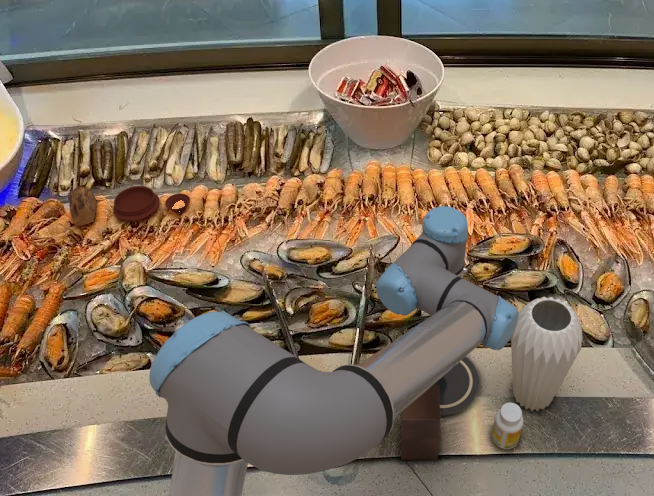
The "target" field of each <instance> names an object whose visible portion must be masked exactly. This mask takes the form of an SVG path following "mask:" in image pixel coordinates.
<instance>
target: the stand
mask: <svg viewBox="0 0 654 496" xmlns="http://www.w3.org/2000/svg"><path fill="white" fill-rule="evenodd" d="M441 417H442V416H440V395H439V385H432V386H431V387H430V388H429V389H428V390H426V391H425V392H424V393H423V394H422V395H421V396H419V397H418V398H417V399H416V400H415V401H414V402H412V403H411V404H410V405H409V406H408V407H407V408H406V409H404V410H403V411H402V412H401V413H400V460H401V461H433V460H434V461H437V460H438V459H439V448H440V433H441V421H442V420H441Z"/></svg>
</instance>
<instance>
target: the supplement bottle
mask: <svg viewBox="0 0 654 496" xmlns="http://www.w3.org/2000/svg"><path fill="white" fill-rule="evenodd" d="M523 426H524V416H523V412H522V408H521V406H520V405H518V404H517V403H514V402H506V403H503V405H501V407H500V409H499V410H497V412H496V414H495V417H494V422H493V427H492V431H491V439H492V441H493V443H494V445H496V446H497V447H498V448H500V449H503V450H511V449H514V448H516V446H517V445H518V443H519V441H520V437H521V434H522V429H523Z"/></svg>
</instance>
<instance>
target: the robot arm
mask: <svg viewBox="0 0 654 496" xmlns="http://www.w3.org/2000/svg"><path fill="white" fill-rule="evenodd" d="M468 224H469V223H468V220H467V217H466V215H465V214H464V213H463V212H462V211H461V210H459V209H456V208H455V207H453V206H452V207H451V206H446V205H445V206H437V207H434V208H431V209H430V210H428V211H427V212H426V214H425V215H424V218H423V222H422V226H421V227H422V228H421V229H422V231H421V233H420V234H419V236H418V237H416V238H415V239H414V241H412V243H411V245H410V246H409V247H408V248H407V249H406V250H405V251H404V252H402V253H401V254H400V255H399V256H398V258H396V259H395V260H394V261H393V262H392V263H391V264H389V266H388V267H387V268H386V269H385V271H384V272H383V273H382V274H381V276H380V277H379V278H378V279H377V281H376V286H375V289H376V295H377V297H378V299H379V301H380V302H381V304H382V305H383V306H384V307H385V308H386V309H387V310H388V311H390V312H391V313H393V314H395V315H401V316H408V315H411V313H413V312H415V311H417V309H419V310H420V311H422V312H424V313H426V314H428V315H429V317H427V318H426V319H424V320H423V321H422V322H420V323H418V324H417V325H415V326H414V327H412V328H410V329H409V330H408V331H406V332H405V333H404V334H402V335H401V336H399V337H398V338H396V339H395V340H393V341H392V342H390V343H388V344H387V345H386V346H384V347H383V348H381V349H380V350H378V351H377V352H375V353H373V354H372V355H371V356H369V357H367V358H366V359H365V360H363V361H361V362H360V363H359V364H344V365H340V366H339V367H337V368H335V369H333V370H332V371H323V370H319V369H317V368H315V367H313V366H312V365H310V364H308V363H306V362H304V361H303V360H301V359H300V358H299V357H298V356H296V355H294V354H293V353H291V352H289V351H288V350H286V349H284V348H283V347H282V346H280V345H278V344H277V343H275V342H273V341H272V340H270V339H269V338H267V337H266V336H264V335H263V334H261V333H259V332H257V331H256V330H255V329H253V328H251V324H250V323H249V322H248V321H245V320H240V319H239V318H237V317H235V316H234V315H232V314H229V313H228V312H224V311H216V310H215V311H209V312H206V313H202V314H200V315H197V316H196V317H193V318H192V319H190V320H189V321H187V322H185V323H184V324H183V325H181V326H180V327H179V328H178V329H177V330H176V331H174V332H173V334H172V335H171V336H170V337H169V338H168V339H166V341H165V342H164V343H163V345H162V346H161V348H159V350H158V352H157V353H156V355H155V357H154V359H153V360H152V361H153V362H152V364H151V367H150V369H149V377H148V379H149V384H150V387H151V389H153V391H154V392H155V395H156V396H158V397H159V398H163V399H164V400H165V401H166V403H167V411H166V419H165V425H164V426H165V427H164V430H165V431H164V432H165V433H164V434H165V438H166V440H167V443H168V444H169V446H170V447H171V448H172V449H173V450H174V451H175V452H174V459H173V465H172V472H171V478H170V484H169V486H170V487H169V492H168V496H242V495H243V491H244V485H245V480H246V475H247V471H248V465H251V466H252V467H254V468H256V469H258V470H261V471H263V472H266V473H271V474H275V475H283V476H299V475H312V474H316V473H321V472H326V471H329V470H332V469H333V470H334V469H335V468H339V467H342V466H344V465H346V464H348V463H350V462H353V461H355V460H358V459H359V458H362V457H363V456H365V455H366V454H368V453H369V452H371V451H372V450H373V449H375V448H376V447H377V446H378V445H379V444H380V443H381V442H382V441H384V440H385V439H386V438H387V437H388V436H389V435H390V433H391V432H392V430H393V427H394V423H395V418H397V417H398V416H399V415H401V412H402V411H403V410H404V409H406V408H407V407H408V406H409V405H410V404H411V403H412V402H414V401H415V400H416V399H417V398H418V397H419V396H421V395H422V394H423V393H424V392H425V391H426V390H428V389H429V388H430V387H431V386H432V385H433V384H434V383H436V382H437V381H438V380H439V379H440V378H441V377H443V376H444V375H445V374H446V373H447V372H448V371H450V370H451V369H452V368H453V367H454V366H455V365H456V364H458V363H459V362H460V361H461V360H462V359H463V358H465V357H467V356H468V355H469V354H470V353H472V352H473V351H474V350H475V349H477V347H479V346H480V345H482V346H483V347H484V348H489V349H491V350H493V351H500V350H502V349H503V348H504V347H505V346H507V344H508V342H509V341H510V340H511V336H512V334H513V332H514V330H515V327H516V325H517V322H518V318H519V312H520V311H519V309H518V308H517V306H515V305H514V304H511V303H510V302H509V301H507V300H506V299H504V298H503V297H501V296H500V295H497V294H495V293H493V292H491V291H488V290H486V289H485V288H483V287H480V286H479V285H477V284H475V283H473V282H470V281H468V280H466V279H465V278H464V274H467V273H468V267H465V260H466V251H467V250H466V249H467V245H468V244H467V243H468V239H469V233H468V231H469V229H468V228H469V227H468Z"/></svg>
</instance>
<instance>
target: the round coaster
mask: <svg viewBox="0 0 654 496" xmlns="http://www.w3.org/2000/svg"><path fill="white" fill-rule="evenodd" d="M433 385H439V395H440V417H449V416H454V415H456V414H457V415H458V414H459V413H462V412H464V411H465V410H466V409H468V408H469V407H470V406H472V404H473V403H474V401H475V400H476V398H477V395H478V394H479V393H478V392H479V389H480V377H479V373H478V370H477V368H476V367H475V365H474V363H473V362H472V361H471V360H470V358H468V357H467V356H466V357H465V358H463V359H462V360H461V361H460V362H459V363H458V364H456V365H455V366H454V367H453V368H452V369H451V370H450V371H448V372H447V373H446V374H445V375H444V376H443V377H441V378H440V379H439V380H438V381H437V382H436V383H434V384H433Z"/></svg>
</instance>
